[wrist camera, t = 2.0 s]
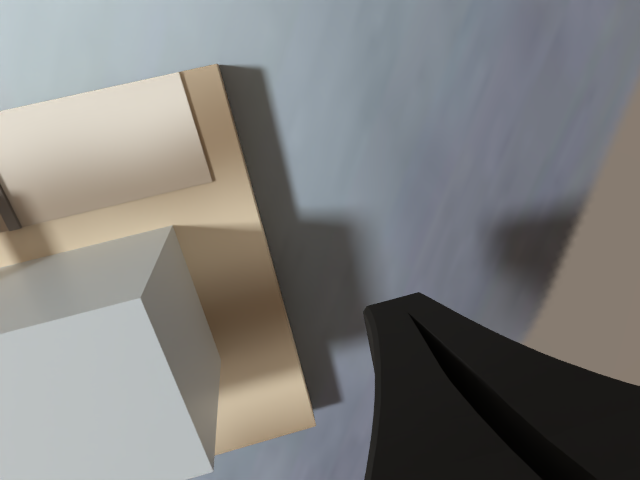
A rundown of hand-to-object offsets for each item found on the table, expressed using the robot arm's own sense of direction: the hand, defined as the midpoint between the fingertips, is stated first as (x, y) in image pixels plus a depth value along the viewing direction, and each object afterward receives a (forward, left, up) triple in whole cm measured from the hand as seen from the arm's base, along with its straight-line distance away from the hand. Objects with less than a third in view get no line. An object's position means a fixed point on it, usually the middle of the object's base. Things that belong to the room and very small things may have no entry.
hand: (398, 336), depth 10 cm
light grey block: (+1, +11, -5) cm, 12 cm away
